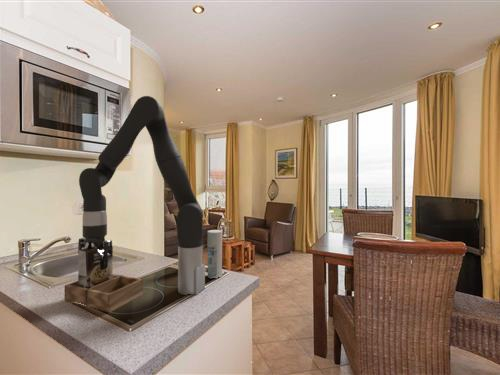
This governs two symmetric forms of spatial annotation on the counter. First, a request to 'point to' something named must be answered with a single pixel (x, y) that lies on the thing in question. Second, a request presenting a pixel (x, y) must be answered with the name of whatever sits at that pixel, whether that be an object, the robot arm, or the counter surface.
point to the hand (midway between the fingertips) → (95, 267)
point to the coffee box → (93, 268)
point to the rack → (106, 293)
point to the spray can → (214, 253)
